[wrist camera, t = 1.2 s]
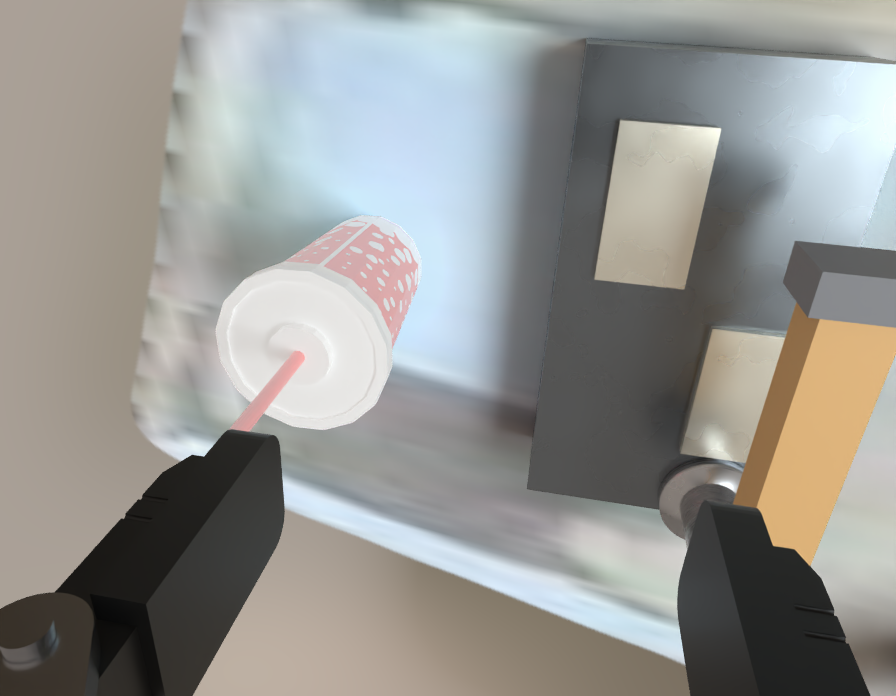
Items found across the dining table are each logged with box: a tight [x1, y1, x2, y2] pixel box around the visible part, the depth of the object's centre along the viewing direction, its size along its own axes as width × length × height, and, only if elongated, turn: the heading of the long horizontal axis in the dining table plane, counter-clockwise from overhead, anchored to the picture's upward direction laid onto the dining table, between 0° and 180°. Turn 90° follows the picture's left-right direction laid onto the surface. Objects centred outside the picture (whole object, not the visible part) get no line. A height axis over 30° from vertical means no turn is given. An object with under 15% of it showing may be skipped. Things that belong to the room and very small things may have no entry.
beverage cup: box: [215, 215, 421, 432], centre depth 25 cm, size 6×6×14 cm
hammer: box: [733, 241, 896, 566], centre depth 20 cm, size 15×4×2 cm, turn 177°
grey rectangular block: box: [527, 38, 896, 550], centre depth 25 cm, size 19×10×9 cm, turn 177°
